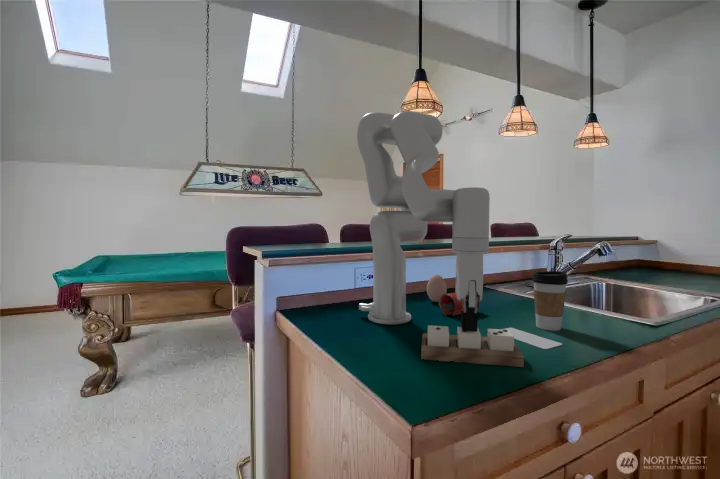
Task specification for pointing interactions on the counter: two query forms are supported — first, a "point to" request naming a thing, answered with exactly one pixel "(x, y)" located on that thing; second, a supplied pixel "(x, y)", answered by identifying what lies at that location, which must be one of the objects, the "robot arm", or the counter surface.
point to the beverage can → (451, 304)
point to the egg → (436, 288)
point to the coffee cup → (549, 298)
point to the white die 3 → (500, 340)
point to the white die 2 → (468, 339)
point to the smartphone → (533, 339)
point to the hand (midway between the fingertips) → (469, 329)
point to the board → (471, 353)
